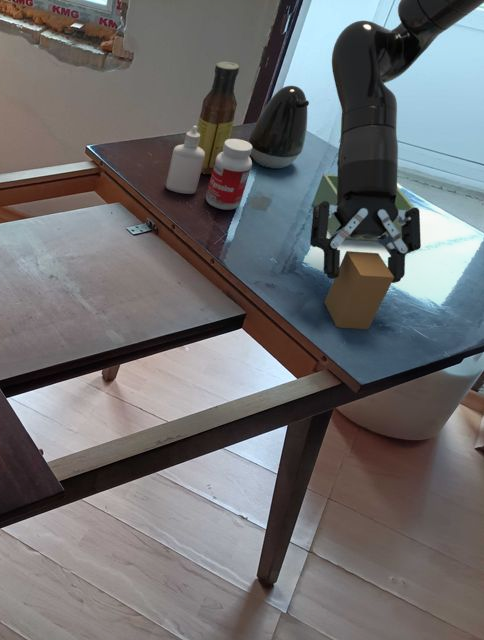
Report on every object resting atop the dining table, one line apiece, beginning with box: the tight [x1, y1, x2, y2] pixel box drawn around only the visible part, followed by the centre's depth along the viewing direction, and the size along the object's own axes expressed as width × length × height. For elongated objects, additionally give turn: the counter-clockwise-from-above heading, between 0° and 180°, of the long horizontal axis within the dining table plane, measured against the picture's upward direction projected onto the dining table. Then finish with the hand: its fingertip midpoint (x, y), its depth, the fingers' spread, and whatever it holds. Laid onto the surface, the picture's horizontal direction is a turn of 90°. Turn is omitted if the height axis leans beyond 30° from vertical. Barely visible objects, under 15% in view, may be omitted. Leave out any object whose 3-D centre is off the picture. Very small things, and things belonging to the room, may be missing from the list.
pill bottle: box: [205, 138, 253, 211], centre depth 120 cm, size 6×6×11 cm
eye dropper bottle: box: [165, 125, 205, 195], centre depth 123 cm, size 4×6×12 cm
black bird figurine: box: [248, 85, 310, 169], centre depth 132 cm, size 10×10×15 cm
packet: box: [324, 250, 394, 330], centre depth 96 cm, size 4×6×9 cm
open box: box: [312, 173, 415, 242], centre depth 119 cm, size 12×12×6 cm
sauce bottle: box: [197, 61, 240, 174], centre depth 127 cm, size 7×6×20 cm
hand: (363, 279), depth 95 cm, fingers open, 8 cm apart
